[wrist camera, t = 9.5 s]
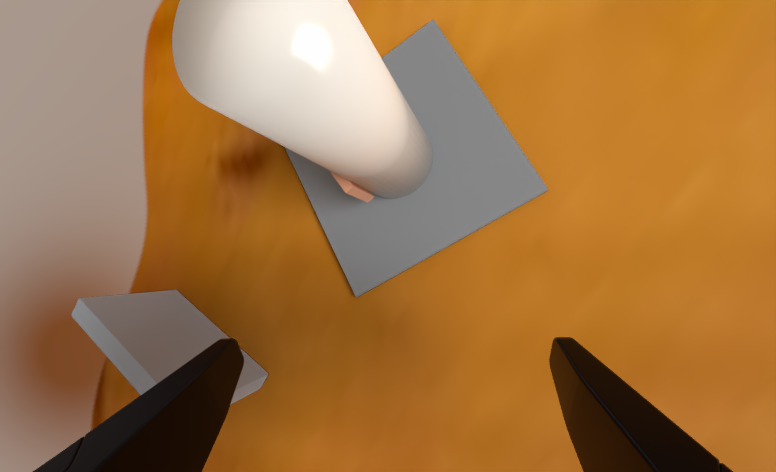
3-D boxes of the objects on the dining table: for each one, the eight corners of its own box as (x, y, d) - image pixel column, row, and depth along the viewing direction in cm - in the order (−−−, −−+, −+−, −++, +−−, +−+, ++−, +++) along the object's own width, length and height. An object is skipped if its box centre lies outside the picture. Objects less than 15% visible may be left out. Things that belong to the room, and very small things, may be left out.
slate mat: (547, 190, 17) (548, 189, 16) (358, 296, 20) (355, 297, 19) (434, 23, 19) (433, 19, 19) (283, 138, 22) (279, 136, 22)
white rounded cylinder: (449, 161, 18) (366, -3, 7) (384, 217, 19) (217, 156, 8) (400, 105, 19) (260, -114, 8) (341, 161, 20) (142, 37, 9)
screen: (268, 373, 21) (185, 414, 16) (260, 388, 21) (174, 434, 16) (176, 289, 24) (79, 298, 19) (169, 303, 25) (70, 315, 19)
